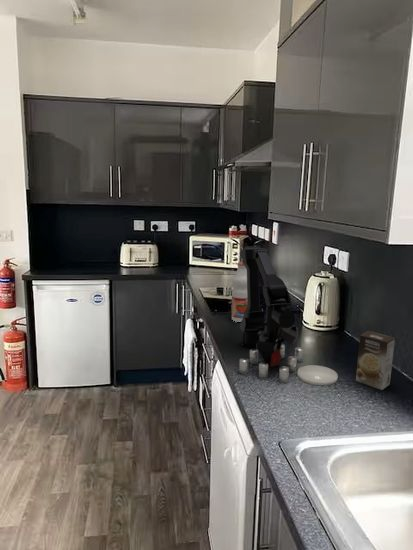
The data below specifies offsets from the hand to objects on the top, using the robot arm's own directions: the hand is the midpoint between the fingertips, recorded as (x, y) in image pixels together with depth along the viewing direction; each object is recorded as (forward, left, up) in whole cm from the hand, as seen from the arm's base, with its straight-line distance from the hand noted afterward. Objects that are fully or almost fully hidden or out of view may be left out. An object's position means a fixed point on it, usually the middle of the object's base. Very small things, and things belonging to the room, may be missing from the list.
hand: (272, 361), depth 148 cm
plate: (+16, -1, -2) cm, 16 cm away
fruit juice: (-30, +44, -2) cm, 53 cm away
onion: (0, 0, -2) cm, 2 cm away
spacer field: (0, 0, -2) cm, 2 cm away
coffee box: (+33, +3, -2) cm, 33 cm away
